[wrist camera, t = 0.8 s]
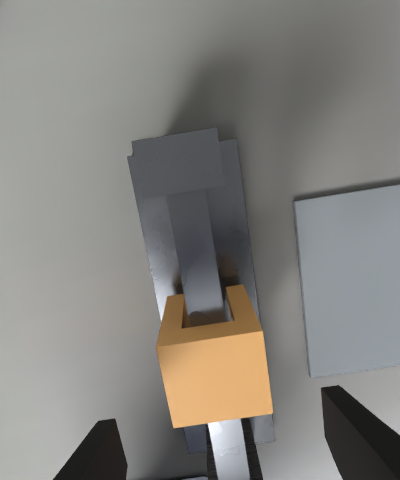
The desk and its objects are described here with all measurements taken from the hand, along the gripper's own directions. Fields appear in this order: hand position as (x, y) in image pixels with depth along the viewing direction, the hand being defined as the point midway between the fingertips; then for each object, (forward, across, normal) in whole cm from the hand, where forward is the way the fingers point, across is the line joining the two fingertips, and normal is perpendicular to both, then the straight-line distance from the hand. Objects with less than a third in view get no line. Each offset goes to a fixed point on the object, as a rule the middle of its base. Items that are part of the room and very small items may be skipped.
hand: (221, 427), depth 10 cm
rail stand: (+9, 0, 0) cm, 9 cm away
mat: (+9, -11, 0) cm, 14 cm away
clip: (+8, 0, 0) cm, 8 cm away
